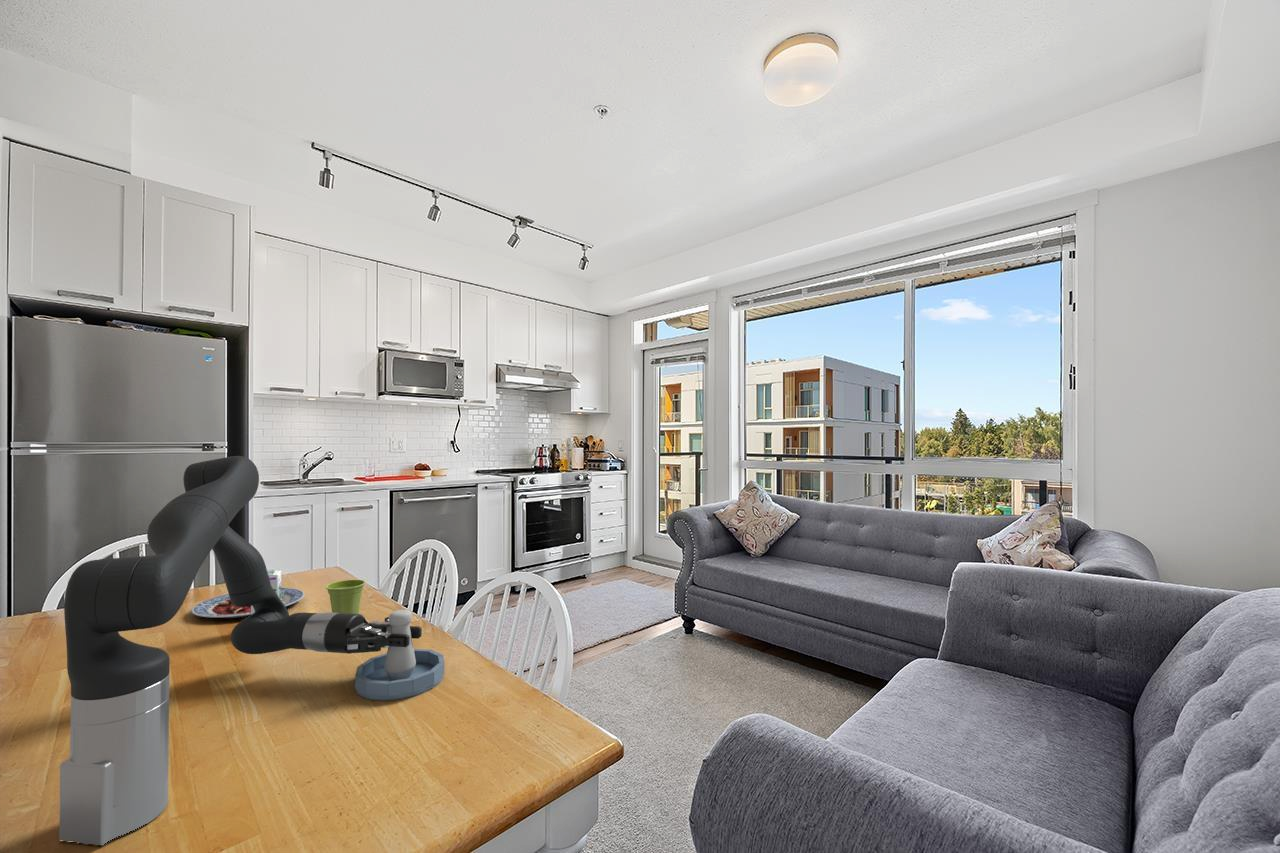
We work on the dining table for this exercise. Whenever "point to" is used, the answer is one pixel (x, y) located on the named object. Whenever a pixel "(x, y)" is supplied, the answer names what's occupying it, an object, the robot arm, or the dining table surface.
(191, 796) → the dining table surface
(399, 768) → the dining table surface
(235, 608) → the ceramic plate
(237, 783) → the dining table surface
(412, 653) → the salt shaker
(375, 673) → the bowl
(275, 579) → the syrup box
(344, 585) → the plant pot
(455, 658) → the dining table surface
